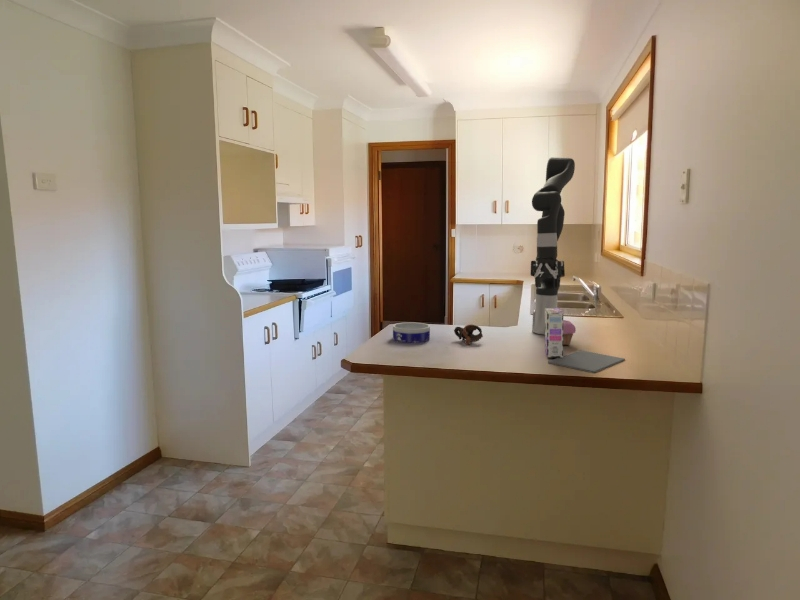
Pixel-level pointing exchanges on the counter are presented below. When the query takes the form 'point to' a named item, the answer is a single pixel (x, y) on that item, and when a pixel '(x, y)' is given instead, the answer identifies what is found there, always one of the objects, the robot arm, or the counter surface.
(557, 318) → the candy box
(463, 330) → the brown curled figurine
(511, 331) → the counter surface
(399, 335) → the dog bowl
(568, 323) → the cupcake
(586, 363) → the mat
